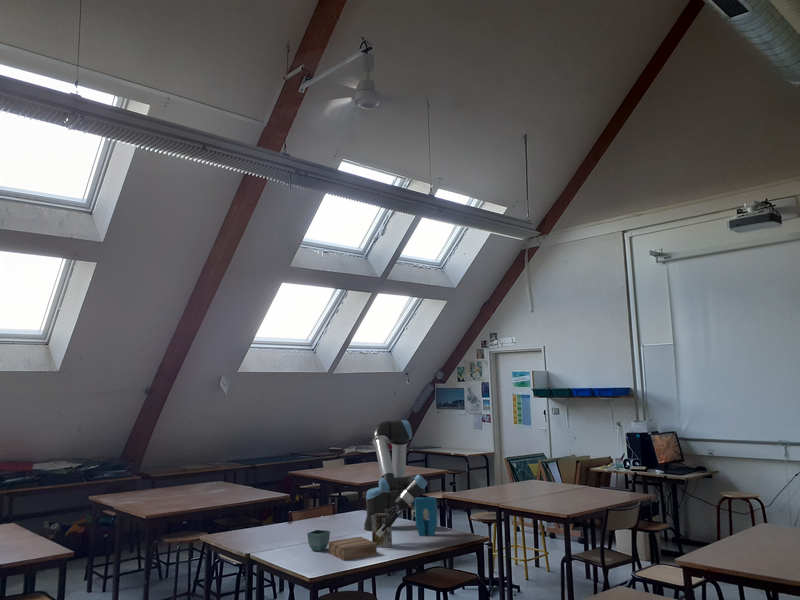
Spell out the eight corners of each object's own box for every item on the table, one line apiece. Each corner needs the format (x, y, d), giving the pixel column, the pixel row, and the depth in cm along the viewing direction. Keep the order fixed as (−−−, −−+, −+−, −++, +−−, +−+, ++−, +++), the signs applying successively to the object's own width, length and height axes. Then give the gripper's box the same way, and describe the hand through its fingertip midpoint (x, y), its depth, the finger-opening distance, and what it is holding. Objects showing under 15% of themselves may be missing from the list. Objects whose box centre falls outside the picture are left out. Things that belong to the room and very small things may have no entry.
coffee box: (392, 545, 312) (391, 513, 315) (388, 547, 306) (387, 515, 309) (376, 544, 315) (375, 512, 318) (371, 547, 309) (371, 514, 312)
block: (437, 533, 335) (435, 497, 339) (437, 535, 330) (435, 498, 334) (416, 534, 336) (415, 497, 340) (416, 536, 331) (414, 499, 335)
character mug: (431, 528, 350) (430, 505, 352) (430, 531, 343) (429, 507, 345) (412, 529, 351) (412, 506, 353) (412, 531, 344) (411, 508, 346)
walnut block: (328, 554, 299) (328, 541, 300) (360, 548, 308) (360, 536, 309) (343, 561, 284) (343, 548, 285) (376, 555, 293) (376, 542, 294)
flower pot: (320, 552, 301) (320, 534, 302) (306, 551, 305) (306, 533, 307) (330, 548, 308) (330, 530, 310) (317, 547, 313) (317, 529, 314)
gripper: (413, 508, 306) (384, 543, 300) (405, 502, 328) (377, 534, 322) (403, 498, 306) (374, 533, 300) (395, 492, 328) (368, 524, 322)
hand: (376, 533), depth 311 cm, fingers closed on coffee box, 10 cm apart
